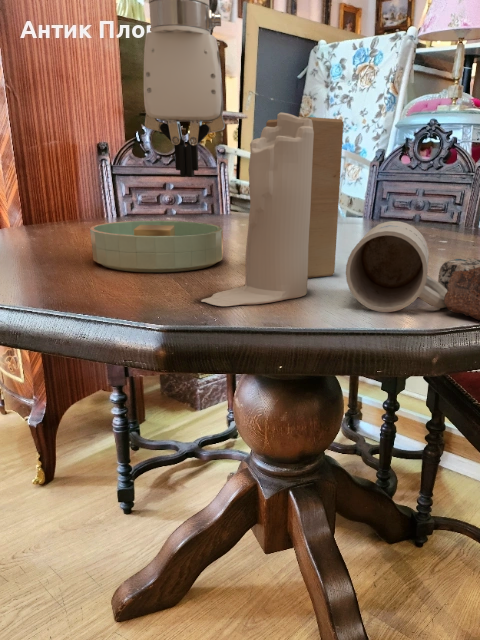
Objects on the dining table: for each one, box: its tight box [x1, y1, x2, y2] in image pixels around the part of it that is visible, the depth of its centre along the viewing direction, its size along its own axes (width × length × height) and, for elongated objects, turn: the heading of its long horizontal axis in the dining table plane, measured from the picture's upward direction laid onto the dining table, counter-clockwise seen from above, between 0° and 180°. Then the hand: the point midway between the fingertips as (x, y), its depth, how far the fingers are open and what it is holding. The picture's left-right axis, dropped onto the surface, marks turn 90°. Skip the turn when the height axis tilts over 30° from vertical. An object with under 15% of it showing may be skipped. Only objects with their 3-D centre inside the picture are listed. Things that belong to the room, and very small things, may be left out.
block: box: [134, 225, 175, 236], centre depth 80 cm, size 5×5×5 cm
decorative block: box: [265, 116, 344, 279], centre depth 78 cm, size 11×6×20 cm, turn 31°
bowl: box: [89, 220, 224, 273], centre depth 84 cm, size 19×19×5 cm
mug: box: [345, 220, 447, 313], centre depth 64 cm, size 12×9×10 cm
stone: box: [444, 267, 480, 321], centre depth 59 cm, size 7×7×3 cm
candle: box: [200, 112, 314, 307], centre depth 62 cm, size 7×14×20 cm, turn 133°
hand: (187, 176), depth 78 cm, fingers closed
